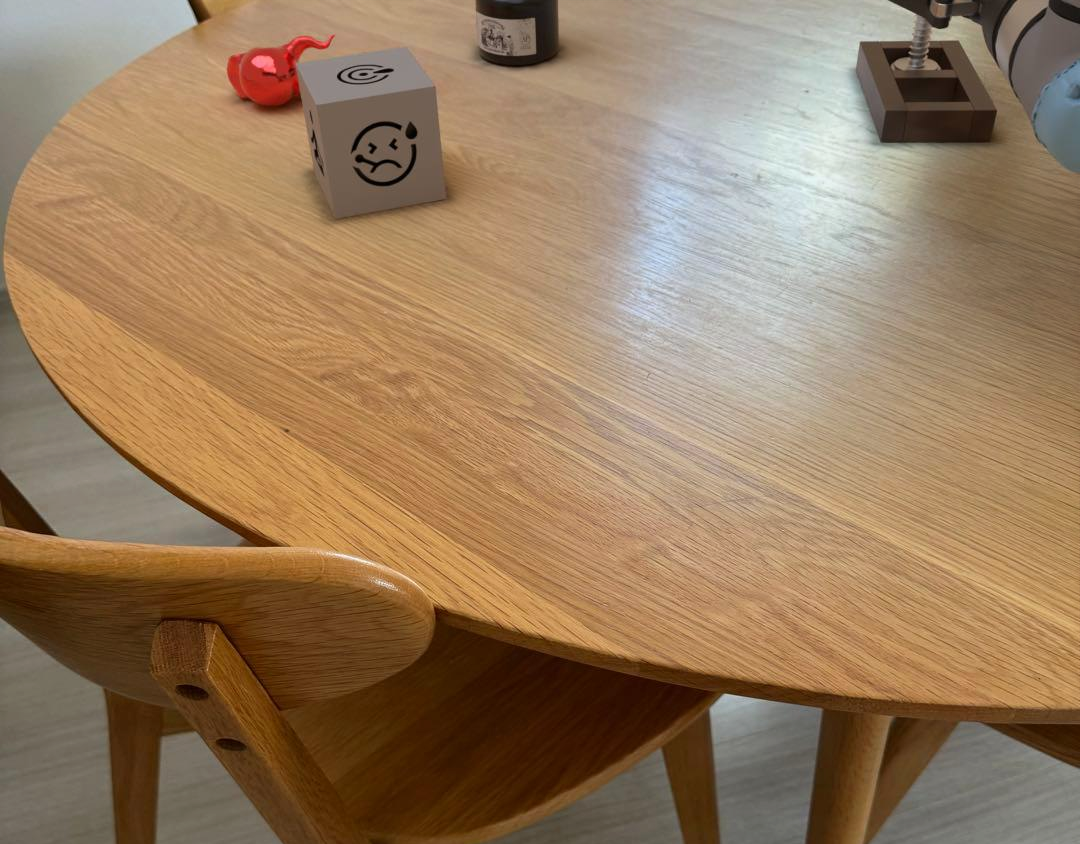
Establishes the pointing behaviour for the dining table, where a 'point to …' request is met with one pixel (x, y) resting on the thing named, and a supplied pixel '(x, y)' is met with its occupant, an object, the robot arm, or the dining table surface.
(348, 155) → the icon cube
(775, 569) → the dining table surface
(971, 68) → the brown divided frame
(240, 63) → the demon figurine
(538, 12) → the ink bottle
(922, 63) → the screw
